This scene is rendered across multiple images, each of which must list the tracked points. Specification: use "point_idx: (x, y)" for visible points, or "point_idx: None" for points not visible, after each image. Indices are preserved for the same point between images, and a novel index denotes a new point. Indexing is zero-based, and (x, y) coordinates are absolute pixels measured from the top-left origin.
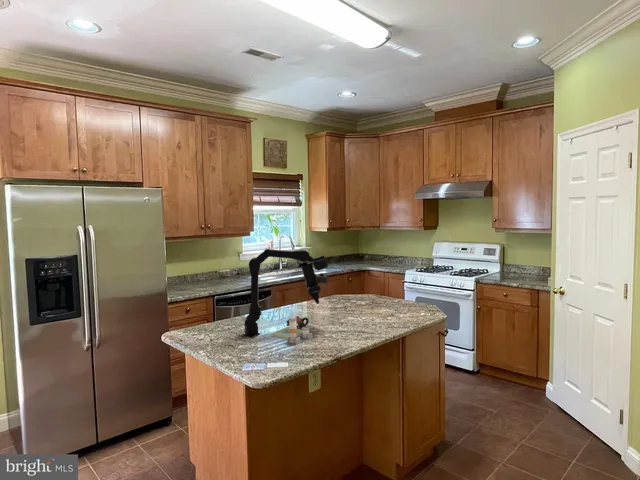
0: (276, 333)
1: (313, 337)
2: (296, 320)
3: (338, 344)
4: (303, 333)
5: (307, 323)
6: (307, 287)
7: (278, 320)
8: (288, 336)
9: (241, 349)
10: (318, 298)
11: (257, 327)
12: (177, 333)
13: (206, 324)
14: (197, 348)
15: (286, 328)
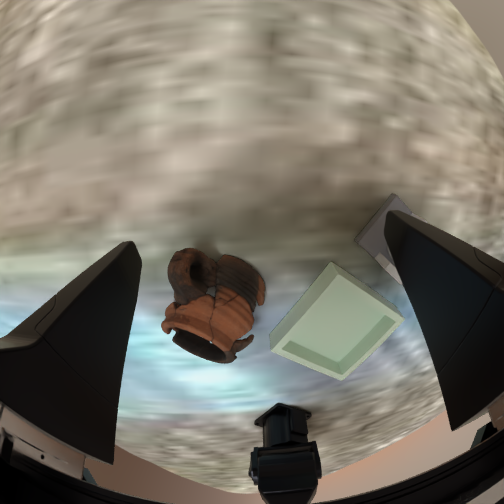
0: (357, 366)
1: (406, 207)
2: (242, 326)
3: (465, 106)
4: None
5: (201, 252)
6: (85, 475)
7: None
8: (401, 318)
9: (407, 400)
10: (459, 244)
11: (297, 428)
12: (244, 489)
13: (173, 472)
14: (359, 456)
15: (283, 345)
